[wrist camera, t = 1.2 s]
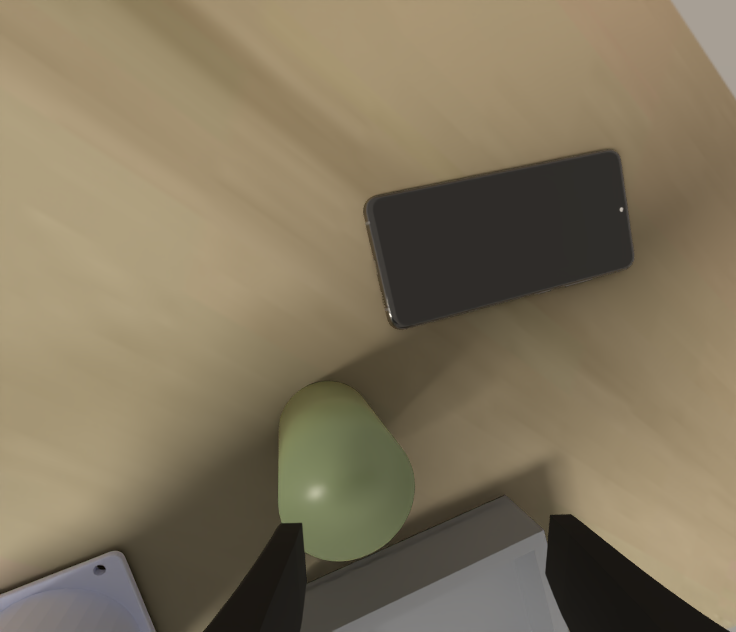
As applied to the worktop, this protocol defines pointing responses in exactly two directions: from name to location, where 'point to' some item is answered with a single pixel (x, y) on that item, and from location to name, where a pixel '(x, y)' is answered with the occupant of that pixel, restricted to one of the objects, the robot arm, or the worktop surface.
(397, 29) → the worktop surface
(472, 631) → the grey bin
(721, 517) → the worktop surface
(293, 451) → the green cylinder
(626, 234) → the smartphone
